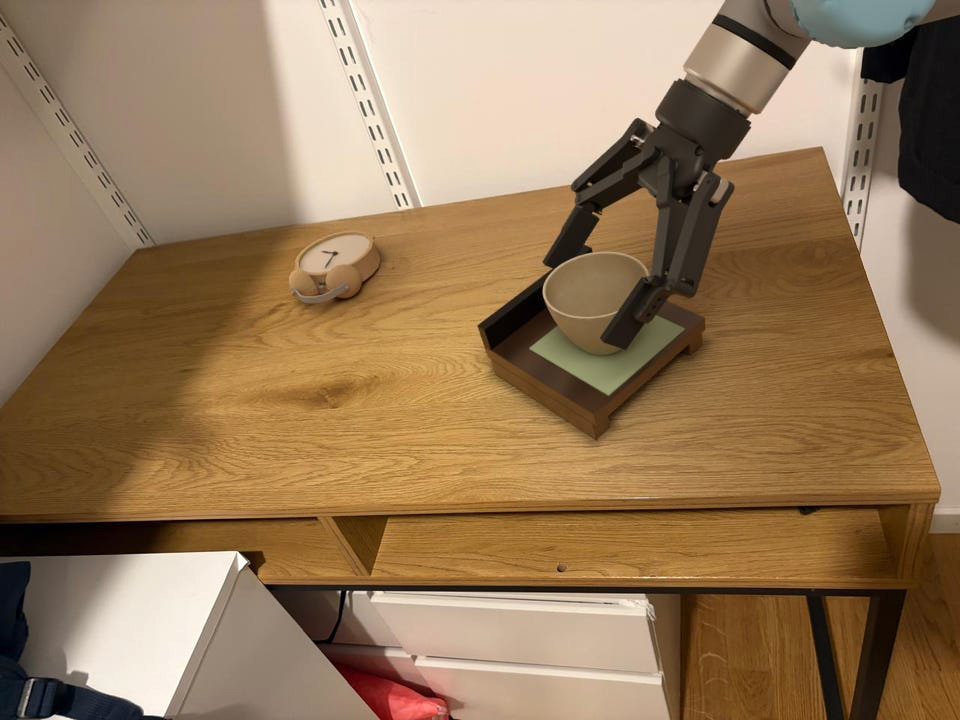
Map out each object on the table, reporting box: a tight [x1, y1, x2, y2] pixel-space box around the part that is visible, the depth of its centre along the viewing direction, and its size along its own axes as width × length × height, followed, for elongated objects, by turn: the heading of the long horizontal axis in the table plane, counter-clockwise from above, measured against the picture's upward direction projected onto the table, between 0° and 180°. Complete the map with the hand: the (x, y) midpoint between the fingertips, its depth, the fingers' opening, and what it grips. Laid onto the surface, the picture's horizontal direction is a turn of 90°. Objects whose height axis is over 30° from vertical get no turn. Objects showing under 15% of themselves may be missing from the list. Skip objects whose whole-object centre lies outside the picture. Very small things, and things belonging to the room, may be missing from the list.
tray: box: [476, 244, 707, 440], centre depth 76 cm, size 16×16×7 cm
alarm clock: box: [288, 229, 381, 304], centre depth 101 cm, size 11×5×15 cm
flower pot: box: [543, 251, 650, 355], centre depth 72 cm, size 10×10×7 cm
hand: (580, 303), depth 71 cm, fingers open, 13 cm apart
